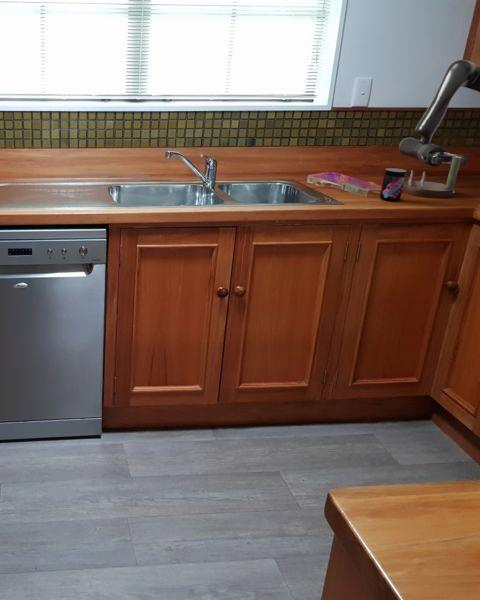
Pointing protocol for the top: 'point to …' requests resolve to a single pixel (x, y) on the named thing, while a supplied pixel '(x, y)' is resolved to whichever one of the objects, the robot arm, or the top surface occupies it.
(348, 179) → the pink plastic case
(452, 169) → the dish rack
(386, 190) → the supplement container
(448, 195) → the turntable base
